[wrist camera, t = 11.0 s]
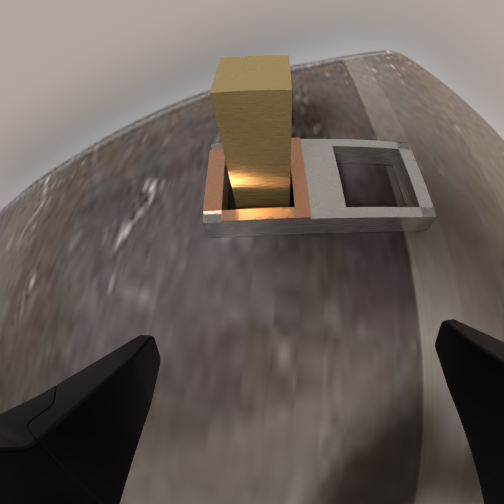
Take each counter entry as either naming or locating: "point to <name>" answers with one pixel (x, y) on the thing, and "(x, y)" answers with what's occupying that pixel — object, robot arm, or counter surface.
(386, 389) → the counter surface
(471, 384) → the robot arm
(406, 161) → the divided tray
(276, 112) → the tan block
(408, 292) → the counter surface
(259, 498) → the counter surface
